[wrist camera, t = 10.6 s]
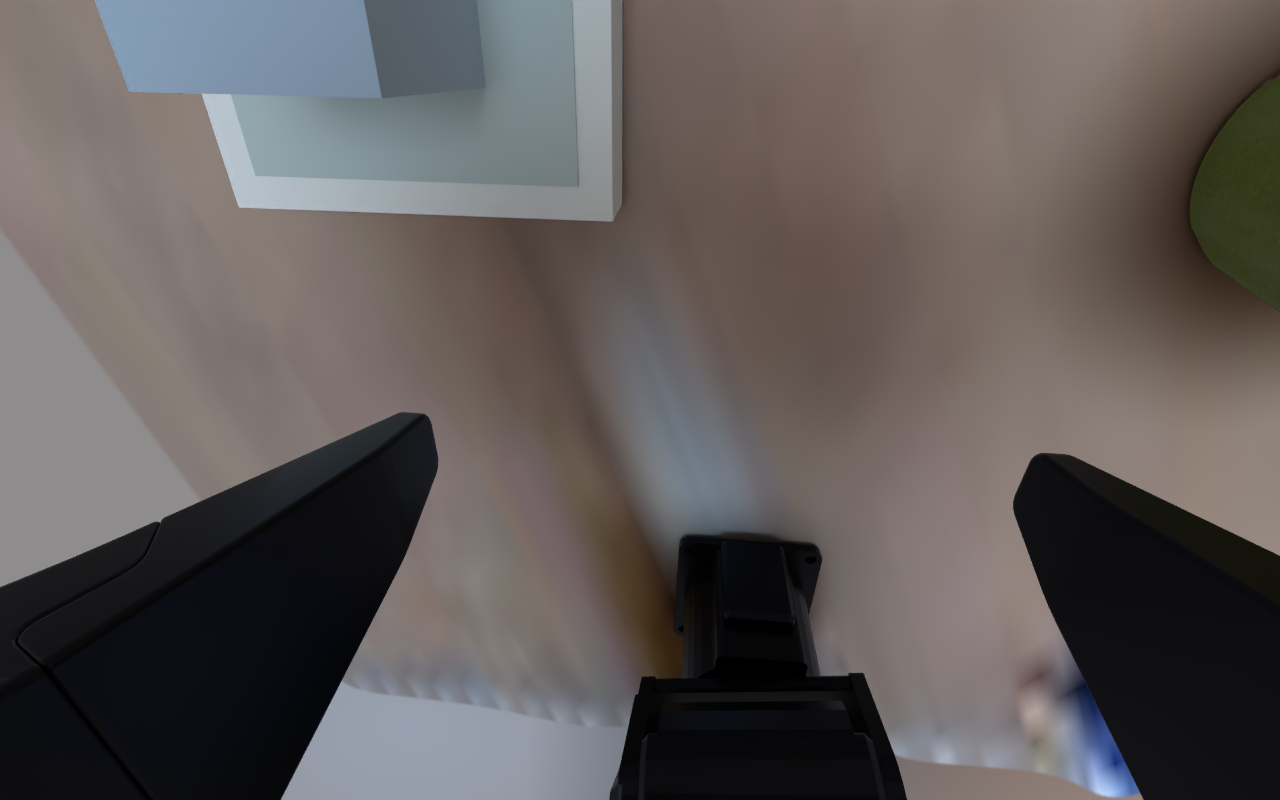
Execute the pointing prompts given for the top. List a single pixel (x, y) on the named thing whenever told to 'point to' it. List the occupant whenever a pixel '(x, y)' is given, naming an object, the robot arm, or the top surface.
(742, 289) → the top surface
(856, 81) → the top surface
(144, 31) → the block
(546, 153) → the base
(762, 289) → the top surface
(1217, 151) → the plant pot
